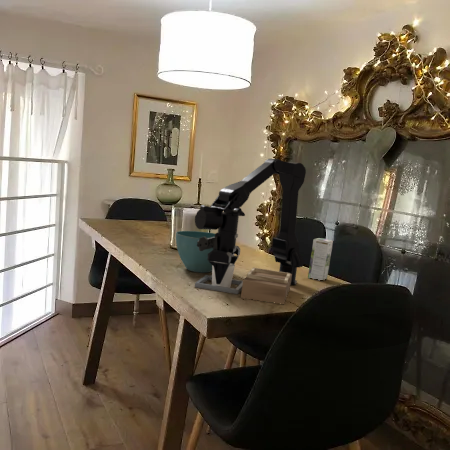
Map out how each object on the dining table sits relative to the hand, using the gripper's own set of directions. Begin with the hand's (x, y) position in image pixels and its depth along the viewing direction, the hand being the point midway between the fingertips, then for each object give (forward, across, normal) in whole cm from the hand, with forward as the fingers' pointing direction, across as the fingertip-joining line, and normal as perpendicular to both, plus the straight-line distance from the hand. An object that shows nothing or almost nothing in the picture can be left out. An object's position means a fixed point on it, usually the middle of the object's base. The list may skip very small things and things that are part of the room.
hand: (221, 281), depth 146 cm
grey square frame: (+2, 0, 0) cm, 2 cm away
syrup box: (+2, -35, +28) cm, 45 cm away
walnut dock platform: (+2, 0, +14) cm, 14 cm away
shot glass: (+2, 0, 0) cm, 2 cm away
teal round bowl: (+2, -18, -12) cm, 22 cm away
